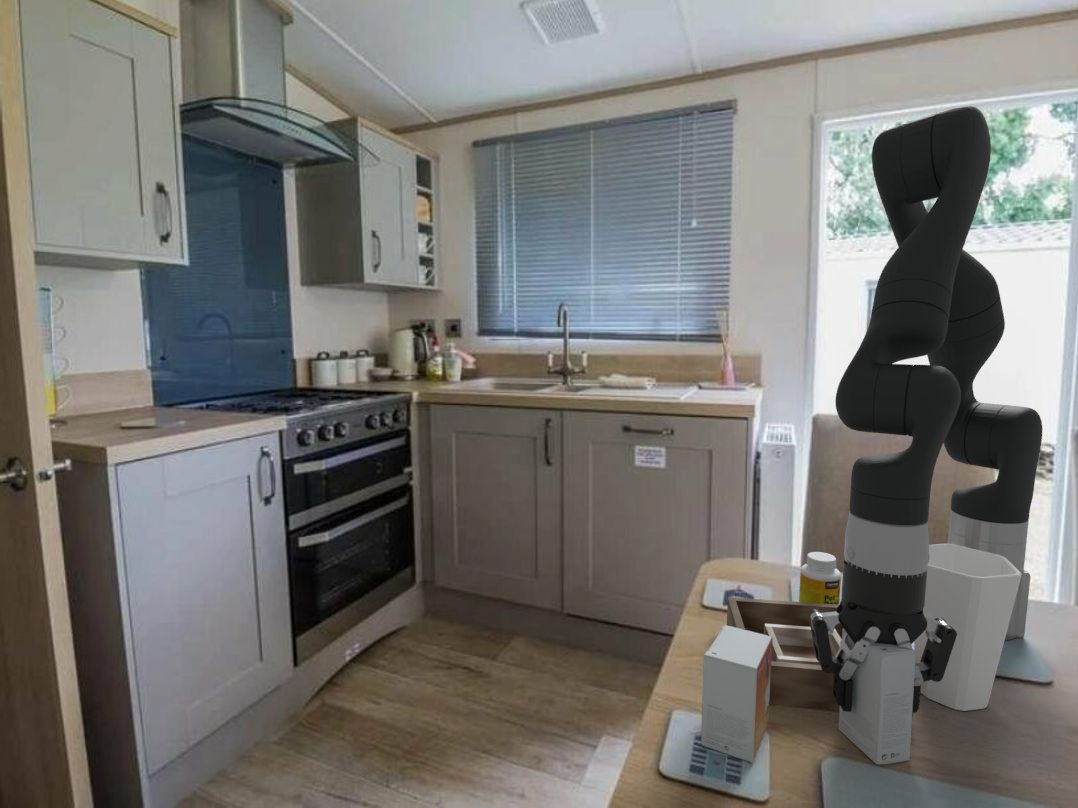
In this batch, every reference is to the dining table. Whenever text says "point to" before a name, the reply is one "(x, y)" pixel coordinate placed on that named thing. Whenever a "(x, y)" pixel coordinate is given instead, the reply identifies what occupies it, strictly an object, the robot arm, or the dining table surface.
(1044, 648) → the dining table surface
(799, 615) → the walled box
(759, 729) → the small box
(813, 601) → the supplement bottle
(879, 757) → the skincare box
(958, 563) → the cup
